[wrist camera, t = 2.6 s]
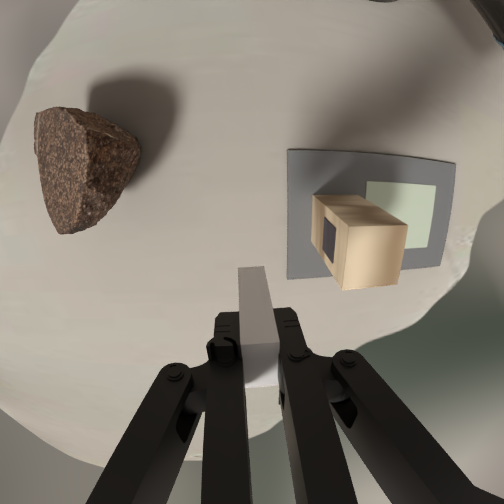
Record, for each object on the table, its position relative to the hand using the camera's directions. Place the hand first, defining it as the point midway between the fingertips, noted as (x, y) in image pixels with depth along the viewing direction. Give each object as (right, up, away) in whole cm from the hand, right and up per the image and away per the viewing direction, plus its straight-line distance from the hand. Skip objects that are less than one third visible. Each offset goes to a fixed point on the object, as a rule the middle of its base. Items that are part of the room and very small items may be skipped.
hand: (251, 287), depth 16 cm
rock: (-14, +12, +8) cm, 21 cm away
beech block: (+9, +6, +11) cm, 15 cm away
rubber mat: (+15, +6, +12) cm, 20 cm away
